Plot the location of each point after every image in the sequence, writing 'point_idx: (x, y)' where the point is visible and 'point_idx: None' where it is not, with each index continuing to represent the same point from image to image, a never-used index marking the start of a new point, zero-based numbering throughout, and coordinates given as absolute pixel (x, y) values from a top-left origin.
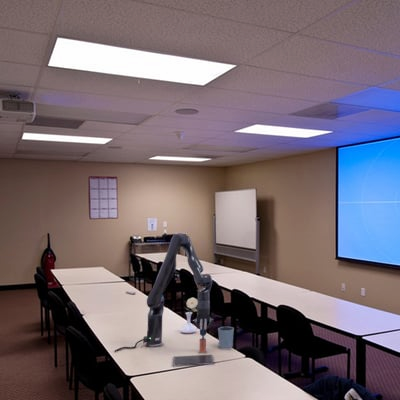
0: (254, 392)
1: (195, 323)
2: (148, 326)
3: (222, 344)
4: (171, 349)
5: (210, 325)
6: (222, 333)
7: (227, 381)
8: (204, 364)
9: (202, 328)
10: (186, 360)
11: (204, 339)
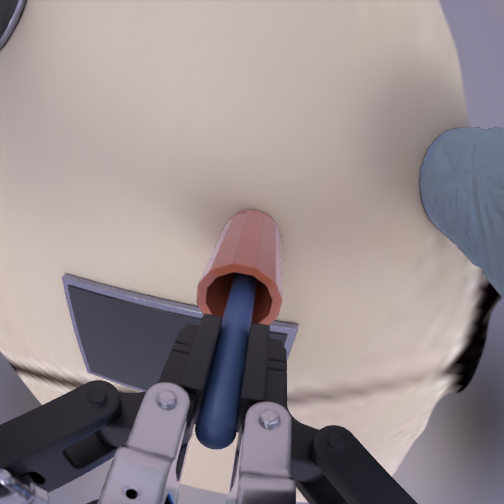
0: (301, 499)
1: (44, 479)
2: None
3: (445, 231)
4: (44, 103)
5: (345, 501)
6: (500, 293)
7: None
8: None
9: (199, 435)
10: (132, 359)
11: (266, 280)
